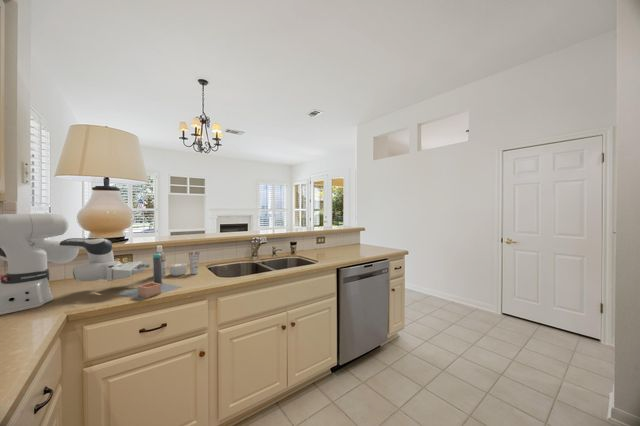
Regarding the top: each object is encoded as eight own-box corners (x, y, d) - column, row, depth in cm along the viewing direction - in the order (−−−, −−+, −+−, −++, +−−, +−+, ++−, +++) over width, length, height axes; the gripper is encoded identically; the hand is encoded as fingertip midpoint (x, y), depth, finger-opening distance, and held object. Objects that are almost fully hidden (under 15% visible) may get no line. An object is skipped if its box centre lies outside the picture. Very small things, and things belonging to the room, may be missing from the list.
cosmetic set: (200, 271, 162) (200, 242, 162) (200, 275, 154) (199, 244, 153) (154, 275, 152) (154, 245, 151) (151, 280, 143) (151, 247, 143)
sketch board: (140, 301, 110) (140, 300, 110) (116, 295, 118) (116, 293, 118) (182, 288, 128) (182, 286, 128) (159, 283, 137) (159, 282, 136)
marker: (156, 286, 130) (155, 255, 129) (151, 284, 131) (151, 254, 131) (163, 283, 133) (163, 254, 133) (159, 283, 135) (158, 253, 134)
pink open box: (146, 297, 113) (146, 288, 113) (138, 295, 116) (137, 286, 116) (161, 293, 119) (161, 284, 119) (152, 291, 122) (152, 282, 121)
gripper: (123, 271, 136) (152, 268, 141) (106, 282, 117) (141, 279, 122) (122, 259, 136) (152, 257, 140) (105, 269, 116) (140, 266, 121)
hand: (147, 267), depth 131 cm, fingers open, 8 cm apart
